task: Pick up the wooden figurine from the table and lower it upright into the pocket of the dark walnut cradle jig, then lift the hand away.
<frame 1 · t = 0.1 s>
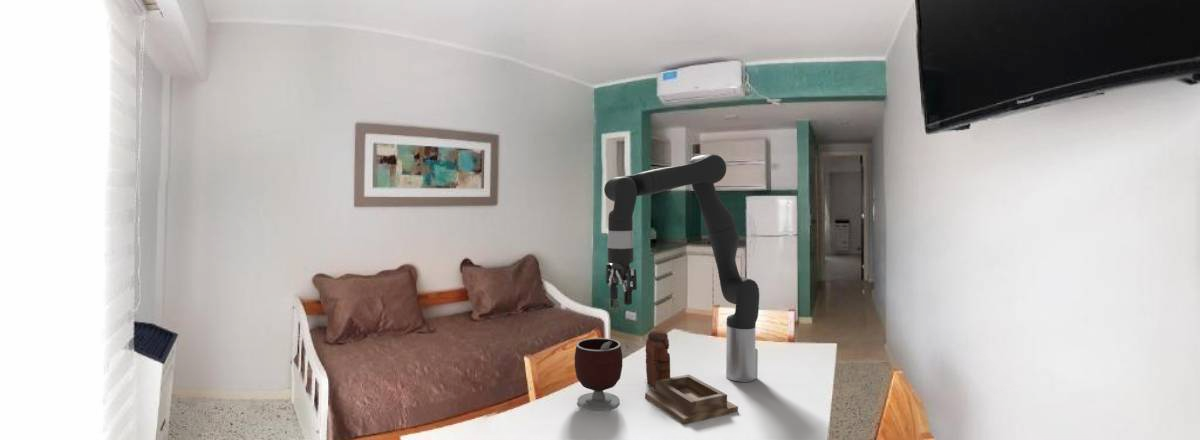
hand: (620, 301, 146), 29 cm above the table, tool pointing down, fingers open, 8 cm apart
cradle: (689, 404, 144), on the table
mate gourd: (599, 403, 145), on the table
wooden figurine: (658, 385, 160), on the table
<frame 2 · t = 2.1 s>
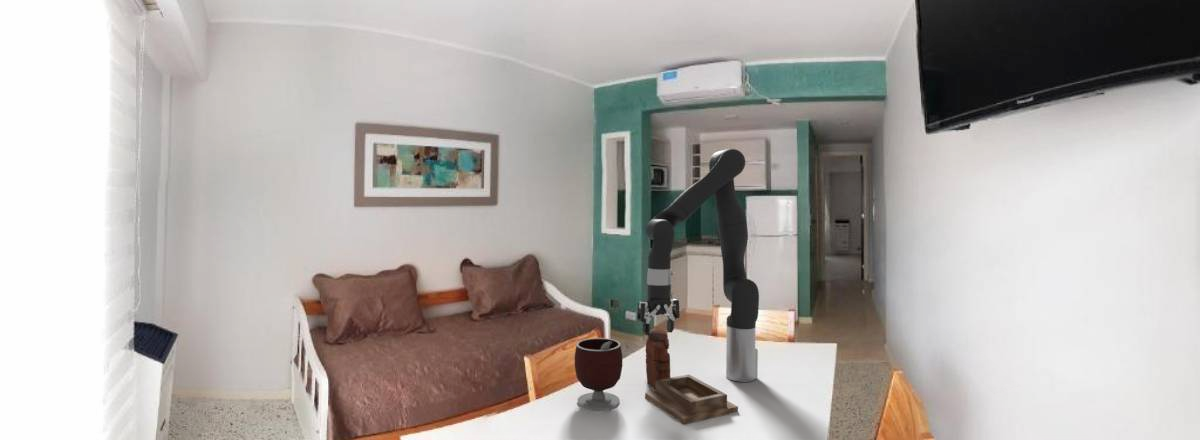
hand: (658, 333, 159), 17 cm above the table, tool pointing down, fingers open, 8 cm apart
nothing on the table moved.
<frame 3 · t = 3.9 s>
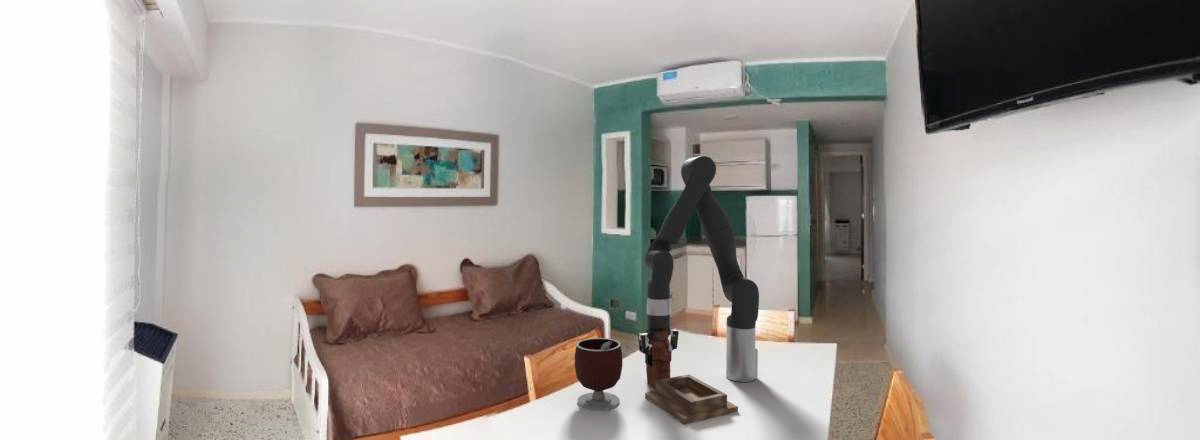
hand: (658, 364, 159), 7 cm above the table, tool pointing down, fingers closed on wooden figurine, 6 cm apart
wooden figurine: (658, 385, 160), on the table, touching gripper
everything else where it was.
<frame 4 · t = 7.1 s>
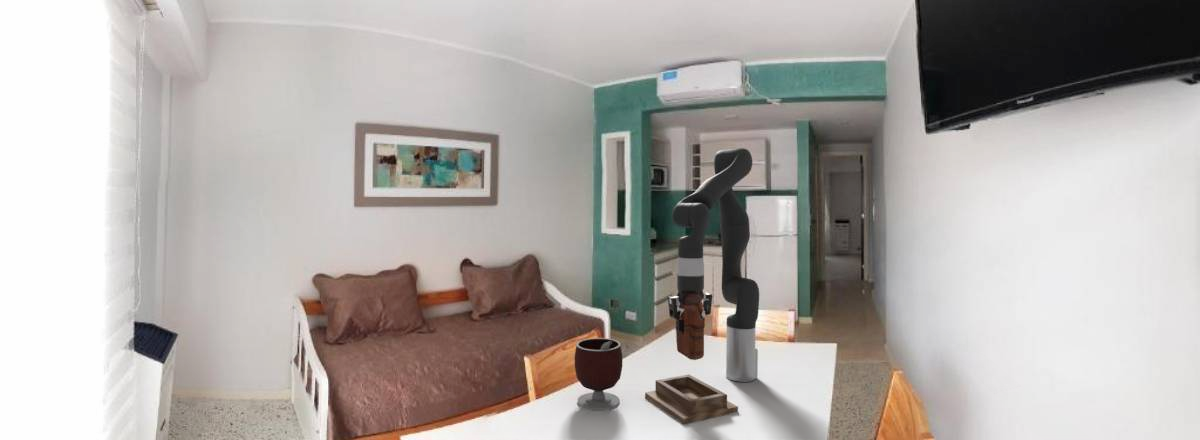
hand: (690, 331, 143), 21 cm above the table, tool pointing down, fingers closed on wooden figurine, 6 cm apart
wooden figurine: (690, 354, 144), point 14 cm above the table, touching gripper
everything else where it was.
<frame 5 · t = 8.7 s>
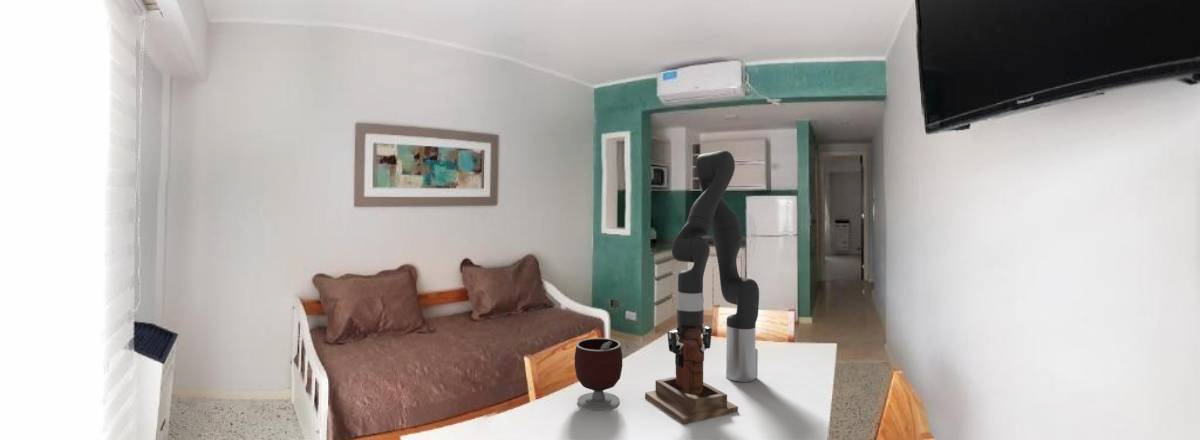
hand: (689, 365, 144), 11 cm above the table, tool pointing down, fingers closed on wooden figurine, 6 cm apart
wooden figurine: (689, 388, 144), point 5 cm above the table, touching gripper
everything else where it was.
when the fingers open (10 cm above the table, at t = 10.1 s): wooden figurine drops 1 cm, resting on cradle.
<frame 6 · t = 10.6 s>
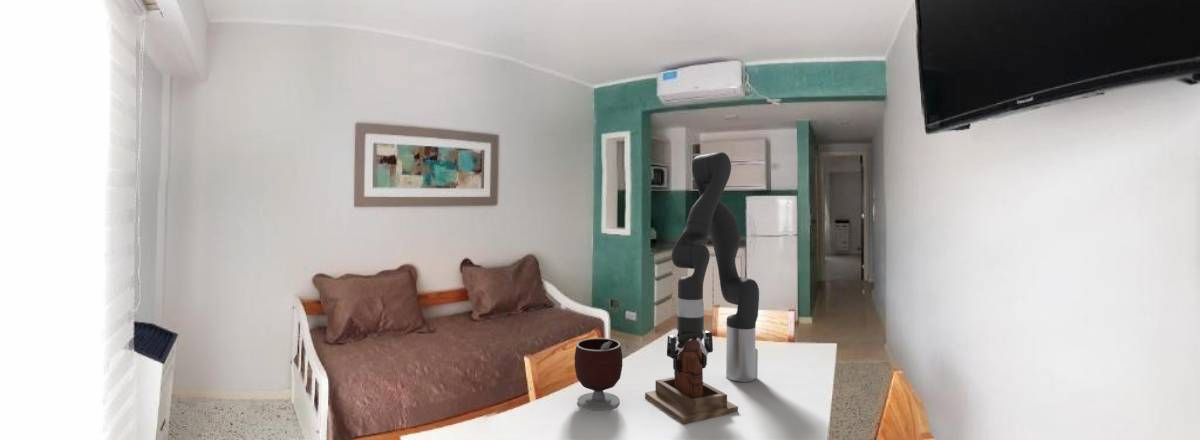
hand: (690, 369, 144), 10 cm above the table, tool pointing down, fingers open, 8 cm apart
wooden figurine: (689, 400, 144), point 1 cm above the table, touching cradle
everything else where it was.
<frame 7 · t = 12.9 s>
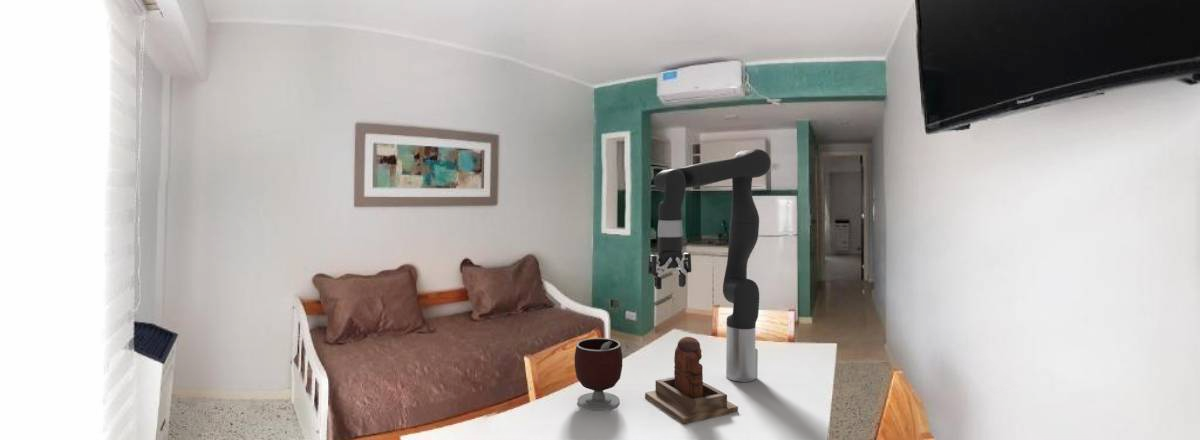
hand: (670, 287, 154), 32 cm above the table, tool pointing down, fingers open, 8 cm apart
nothing on the table moved.
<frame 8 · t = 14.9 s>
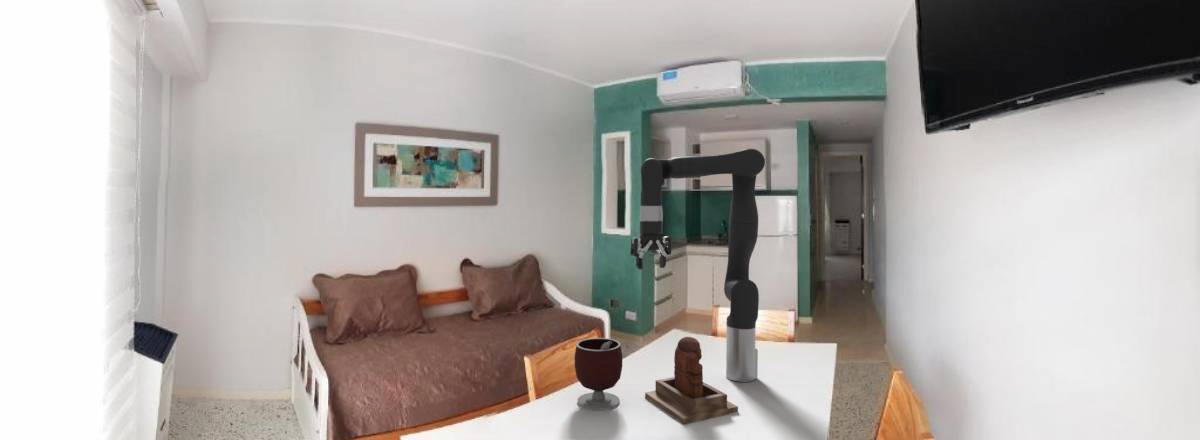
hand: (651, 268, 166), 36 cm above the table, tool pointing down, fingers open, 8 cm apart
nothing on the table moved.
at the end: wooden figurine inside the target area on the cradle (0.3 cm from its centre), point 1.3 cm above the cradle's base; wooden figurine tilted 0°; the gripper is holding nothing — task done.
